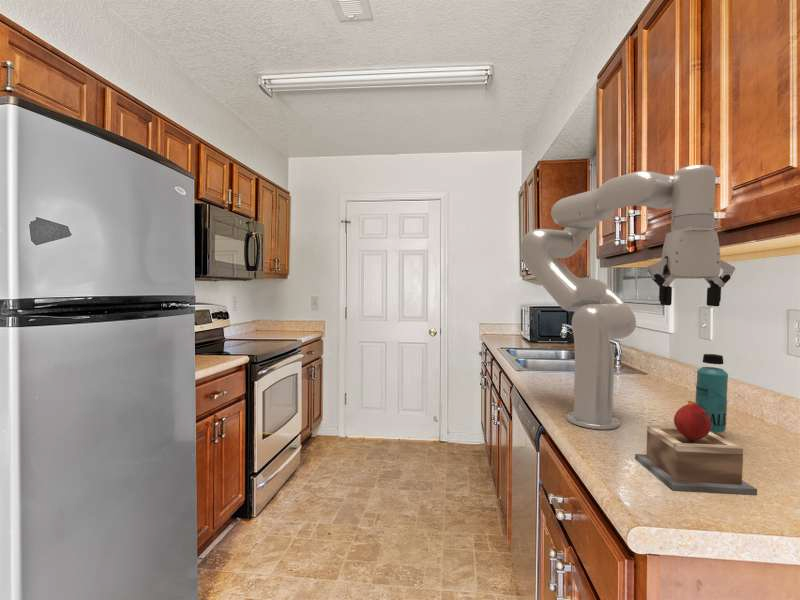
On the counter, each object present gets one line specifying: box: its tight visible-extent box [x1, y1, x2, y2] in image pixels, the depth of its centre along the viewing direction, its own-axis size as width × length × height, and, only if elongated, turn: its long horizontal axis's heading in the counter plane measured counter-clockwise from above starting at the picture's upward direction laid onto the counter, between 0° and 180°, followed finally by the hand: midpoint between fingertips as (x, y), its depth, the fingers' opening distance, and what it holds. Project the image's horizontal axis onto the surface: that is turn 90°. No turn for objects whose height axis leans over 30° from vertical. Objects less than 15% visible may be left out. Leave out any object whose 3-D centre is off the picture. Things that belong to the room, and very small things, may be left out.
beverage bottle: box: [694, 353, 729, 434], centre depth 104 cm, size 6×7×20 cm
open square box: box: [634, 425, 758, 496], centre depth 81 cm, size 14×14×8 cm
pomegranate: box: [673, 399, 711, 442], centre depth 81 cm, size 6×6×8 cm
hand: (689, 305), depth 90 cm, fingers open, 9 cm apart
